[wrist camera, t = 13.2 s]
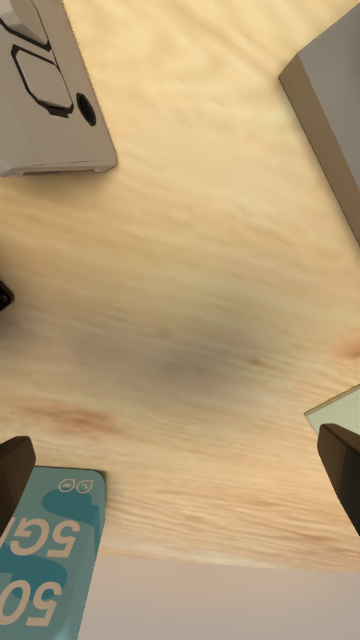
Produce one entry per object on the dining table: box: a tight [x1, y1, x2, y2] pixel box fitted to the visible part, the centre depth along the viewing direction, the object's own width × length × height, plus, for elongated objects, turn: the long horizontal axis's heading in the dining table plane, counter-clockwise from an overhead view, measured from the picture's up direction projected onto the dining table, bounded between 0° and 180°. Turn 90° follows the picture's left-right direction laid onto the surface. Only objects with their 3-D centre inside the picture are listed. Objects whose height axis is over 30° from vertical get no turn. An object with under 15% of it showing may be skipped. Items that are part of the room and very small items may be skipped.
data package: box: [0, 467, 105, 640], centre depth 23 cm, size 12×4×12 cm, turn 85°
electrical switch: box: [0, 0, 117, 177], centre depth 13 cm, size 9×5×9 cm, turn 18°
